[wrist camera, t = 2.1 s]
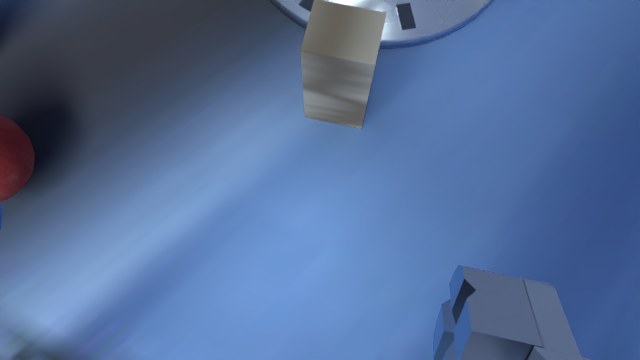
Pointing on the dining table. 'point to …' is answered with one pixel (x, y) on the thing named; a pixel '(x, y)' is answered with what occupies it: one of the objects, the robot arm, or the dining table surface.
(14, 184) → the onion
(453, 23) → the slotted white disc
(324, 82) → the tall beige block
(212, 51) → the dining table surface
